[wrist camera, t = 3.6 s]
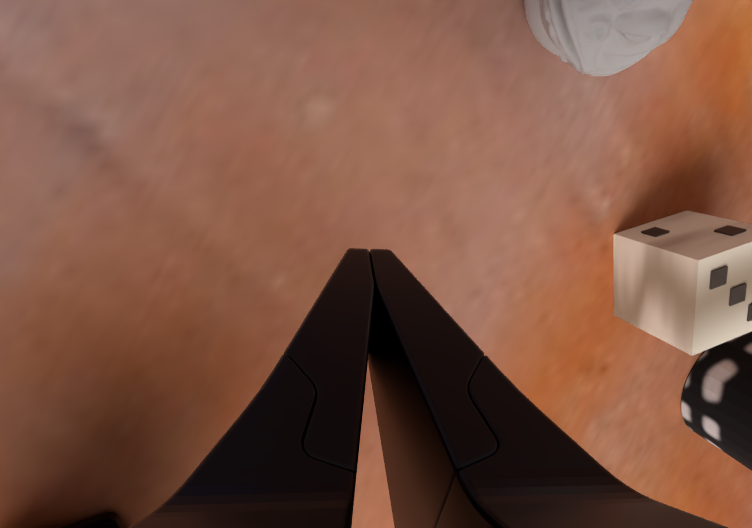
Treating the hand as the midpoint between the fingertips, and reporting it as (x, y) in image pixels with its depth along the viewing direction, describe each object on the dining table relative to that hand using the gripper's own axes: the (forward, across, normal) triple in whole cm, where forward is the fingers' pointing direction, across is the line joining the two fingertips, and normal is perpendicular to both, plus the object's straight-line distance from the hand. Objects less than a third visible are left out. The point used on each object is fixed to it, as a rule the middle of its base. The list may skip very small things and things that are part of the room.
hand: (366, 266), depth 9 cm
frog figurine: (+15, -8, -3) cm, 17 cm away
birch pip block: (+12, -18, +9) cm, 23 cm away
